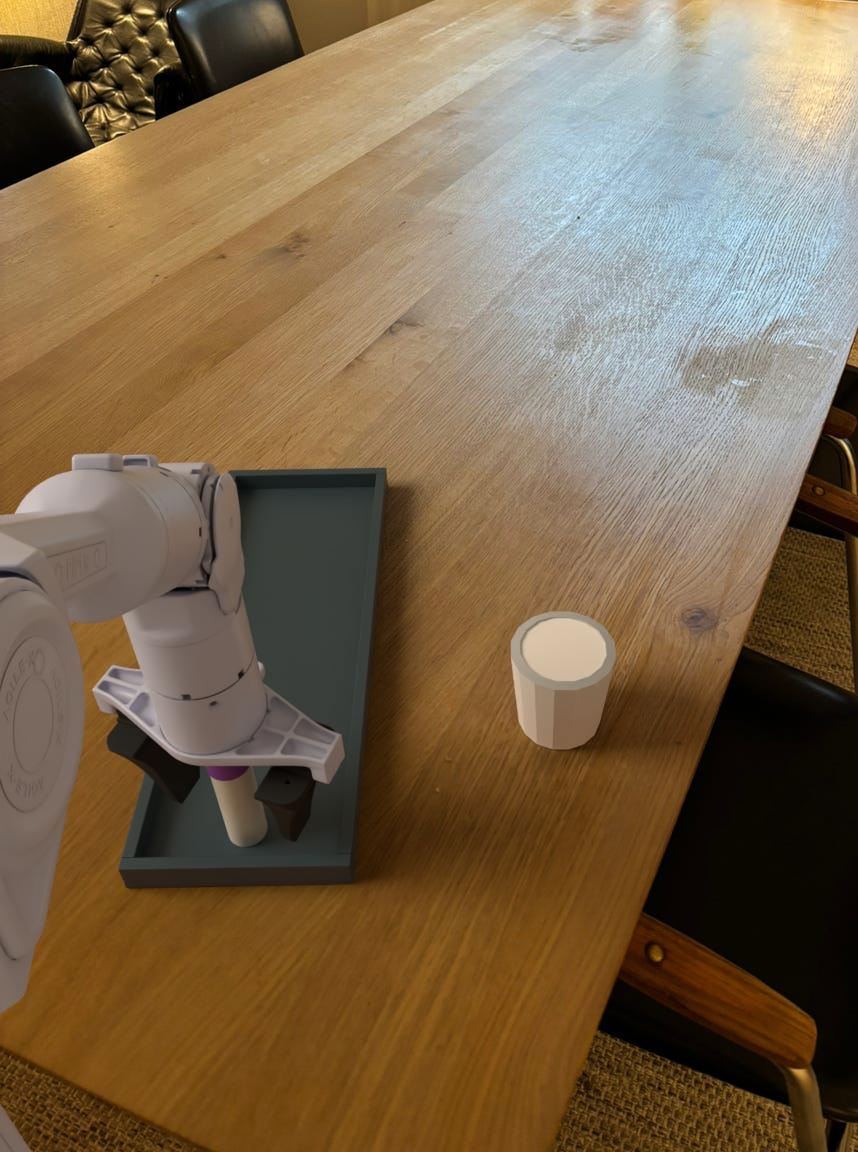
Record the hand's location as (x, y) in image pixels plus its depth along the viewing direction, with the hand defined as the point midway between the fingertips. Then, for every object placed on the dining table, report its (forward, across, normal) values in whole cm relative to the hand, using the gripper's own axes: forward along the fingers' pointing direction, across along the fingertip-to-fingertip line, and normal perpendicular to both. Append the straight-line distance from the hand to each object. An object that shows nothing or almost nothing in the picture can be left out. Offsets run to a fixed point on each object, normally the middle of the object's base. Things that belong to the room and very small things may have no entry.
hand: (241, 807), depth 62 cm
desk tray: (+3, +6, -14) cm, 16 cm away
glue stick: (+2, 0, 0) cm, 3 cm away
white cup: (+3, -15, -15) cm, 22 cm away
